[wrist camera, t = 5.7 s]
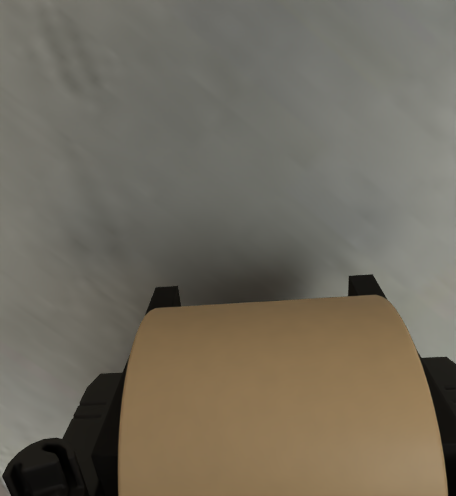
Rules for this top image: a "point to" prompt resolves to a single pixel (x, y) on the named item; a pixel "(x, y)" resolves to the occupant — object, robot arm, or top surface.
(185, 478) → the toy wooden mallet
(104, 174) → the top surface
